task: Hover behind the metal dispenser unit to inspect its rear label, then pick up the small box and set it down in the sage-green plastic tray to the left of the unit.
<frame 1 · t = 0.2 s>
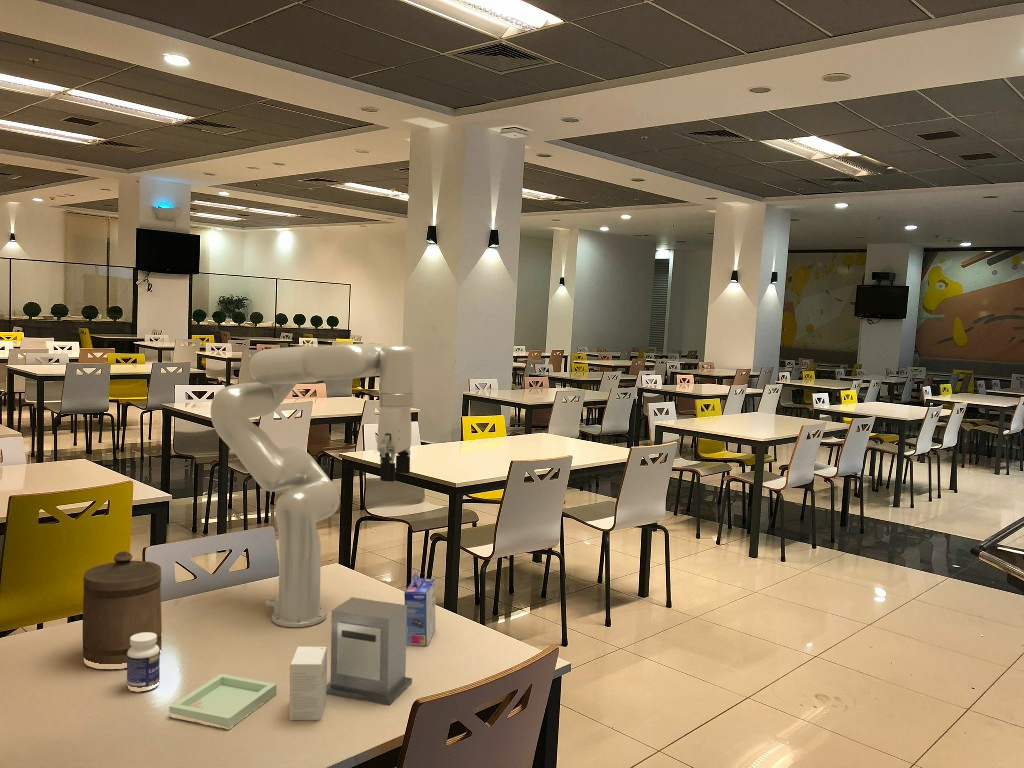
hand: (395, 476, 185), 36 cm above the table, tool pointing down, fingers open, 9 cm apart
wooden container: (122, 656, 172), on the table
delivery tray: (224, 705, 151), on the table
pill bottle: (143, 687, 158), on the table
ink cartridge box: (419, 638, 187), on the table
dispenser unit: (368, 687, 160), on the table
small box: (308, 711, 151), on the table
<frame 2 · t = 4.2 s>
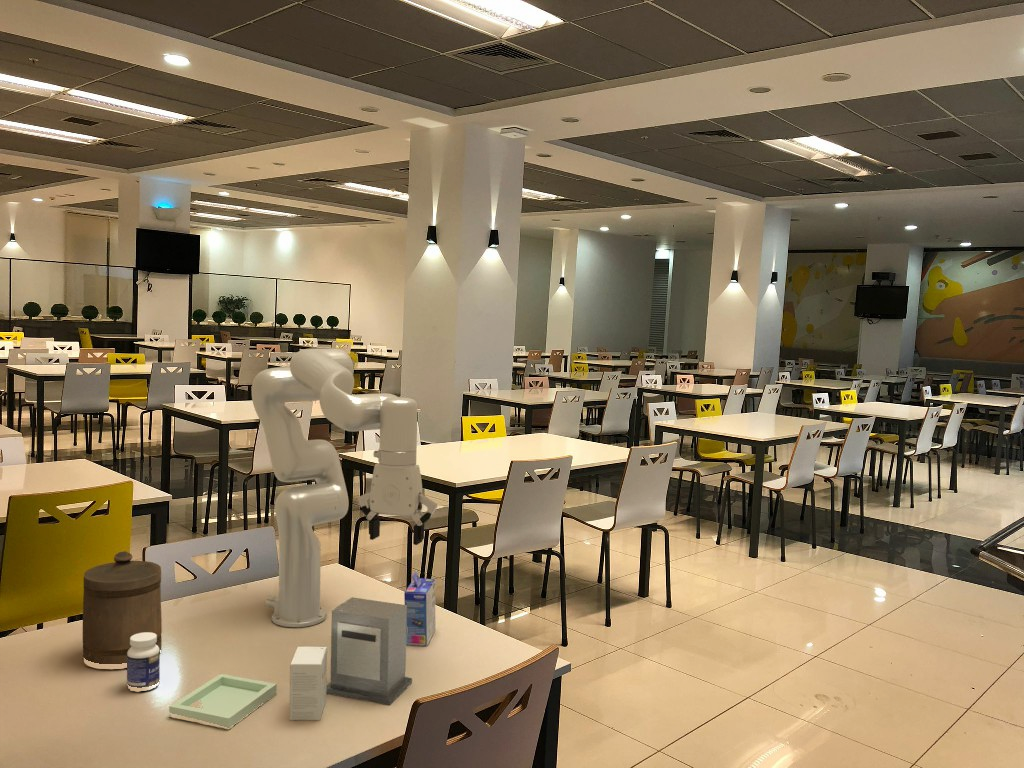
hand: (396, 540, 169), 26 cm above the table, tool pointing down, fingers open, 9 cm apart
nothing on the table moved.
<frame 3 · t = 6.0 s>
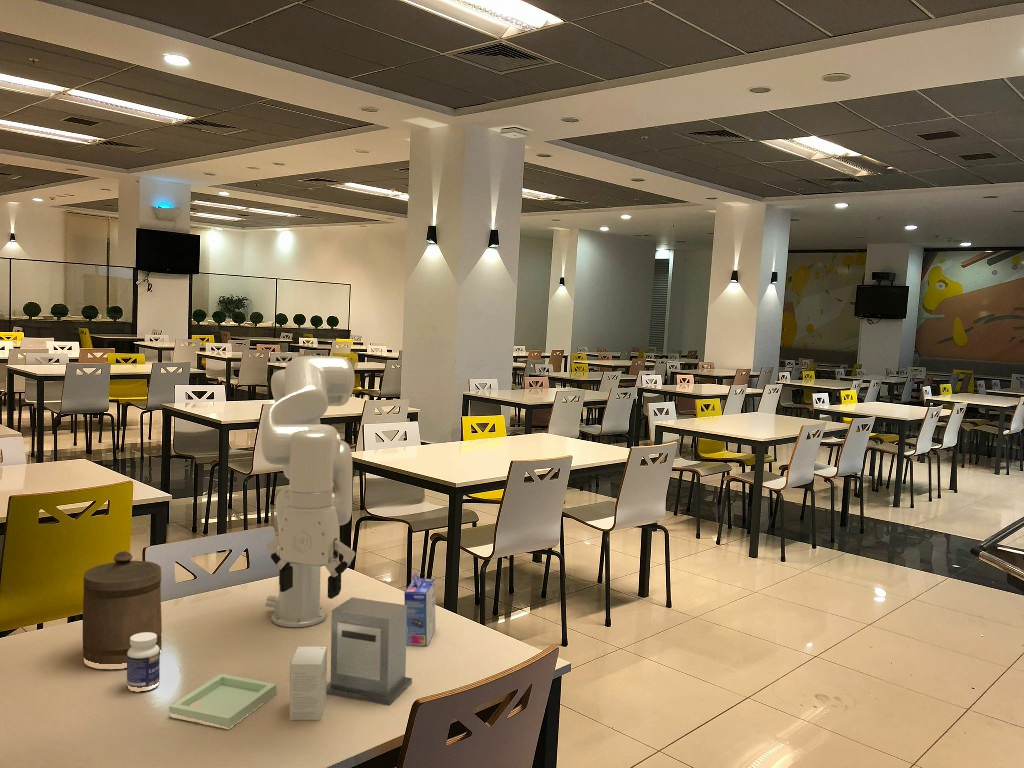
hand: (309, 593, 149), 22 cm above the table, tool pointing down, fingers open, 9 cm apart
nothing on the table moved.
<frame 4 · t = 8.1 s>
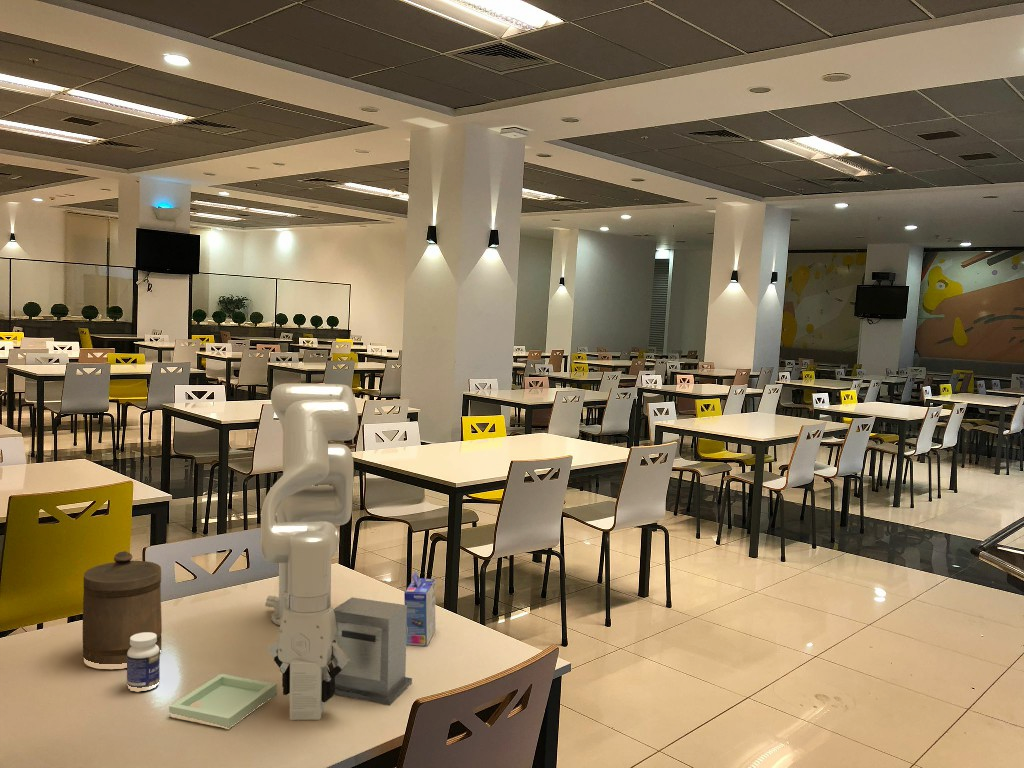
hand: (308, 694, 151), 3 cm above the table, tool pointing down, fingers closed on small box, 7 cm apart
small box: (308, 711, 151), on the table, touching gripper
everything else where it was.
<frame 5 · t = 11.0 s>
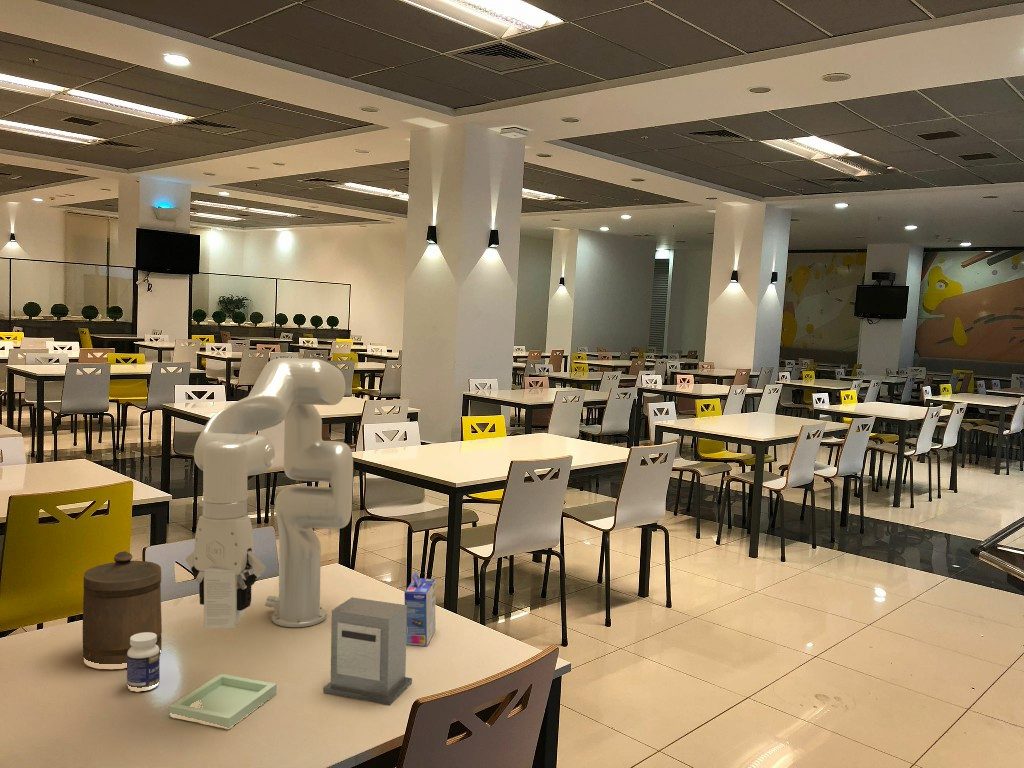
hand: (225, 604, 150), 19 cm above the table, tool pointing down, fingers closed on small box, 7 cm apart
small box: (225, 621, 150), point 16 cm above the table, touching gripper
everything else where it was.
when the fingers open (5 cm above the table, at t = 14.0 s): small box drops 2 cm, resting on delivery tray.
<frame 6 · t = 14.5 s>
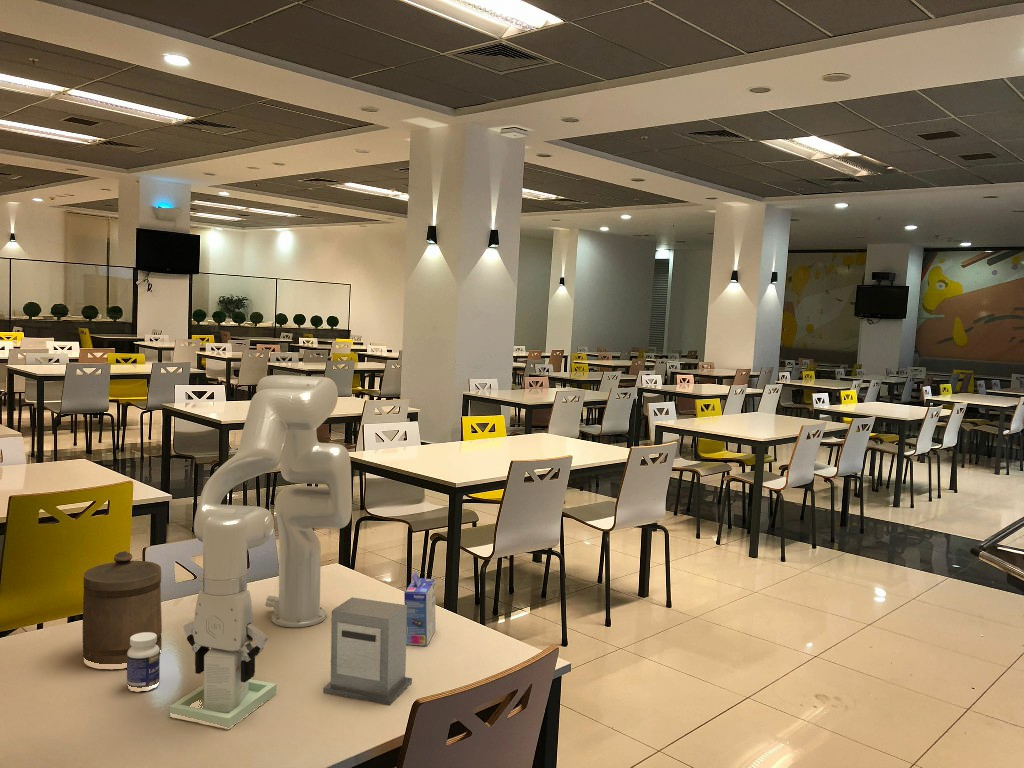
hand: (224, 675, 151), 6 cm above the table, tool pointing down, fingers open, 9 cm apart
small box: (226, 703, 152), resting on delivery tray
everything else where it was.
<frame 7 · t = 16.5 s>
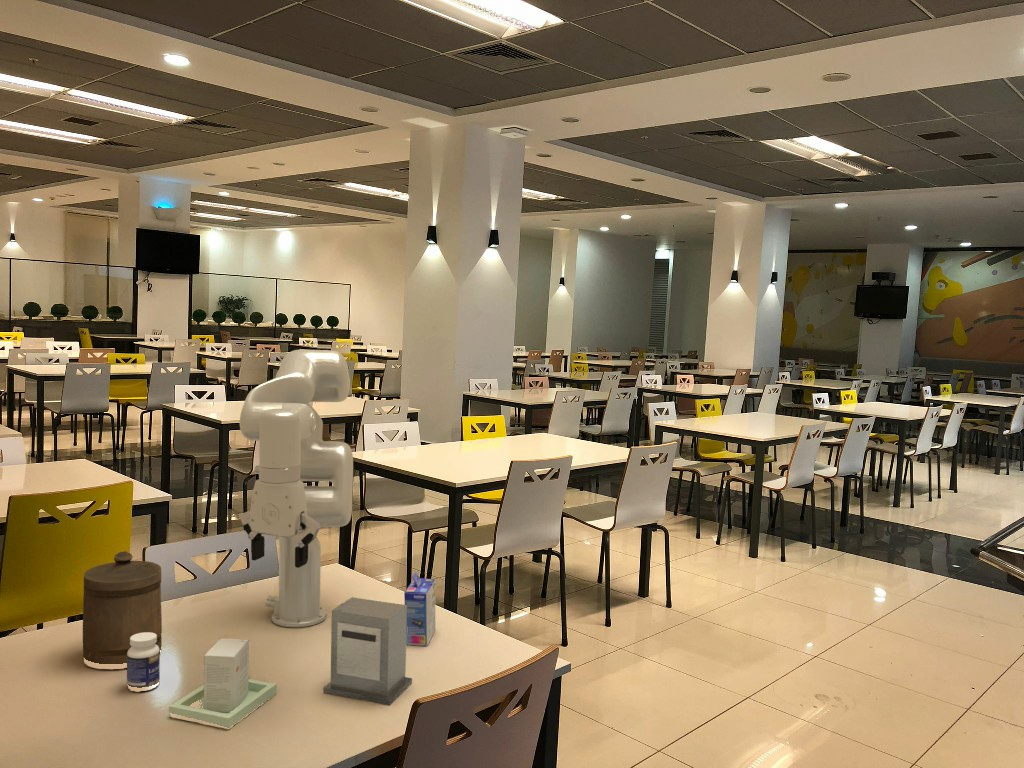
hand: (279, 562, 158), 25 cm above the table, tool pointing down, fingers open, 9 cm apart
nothing on the table moved.
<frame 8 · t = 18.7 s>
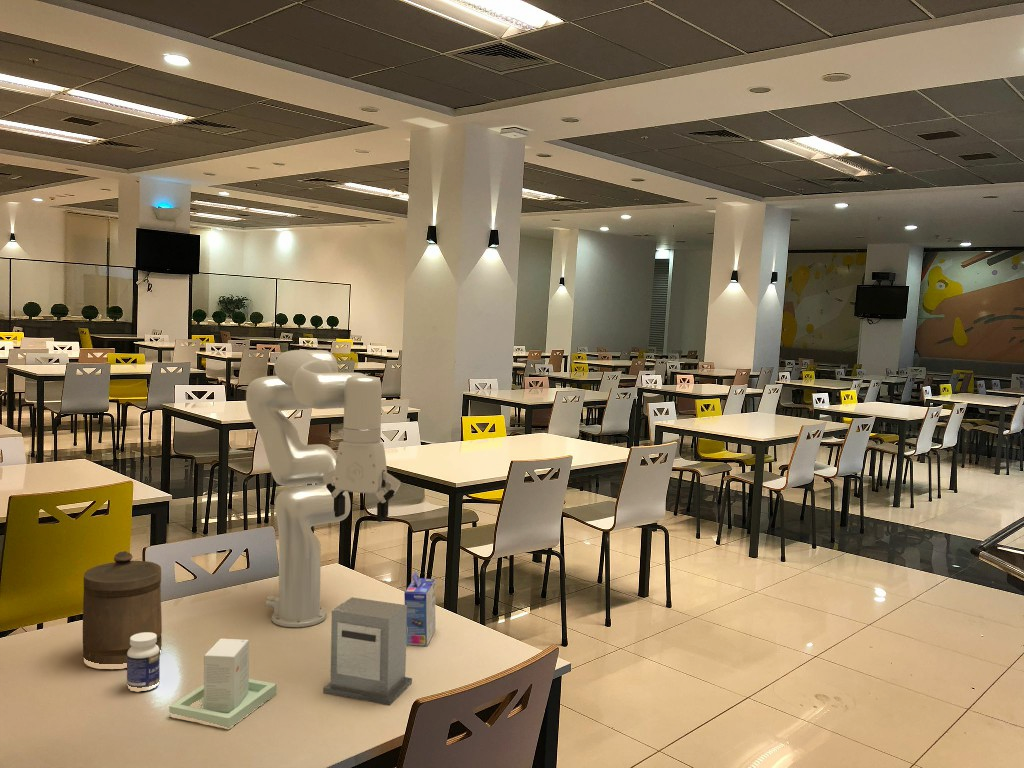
hand: (360, 518, 171), 30 cm above the table, tool pointing down, fingers open, 9 cm apart
nothing on the table moved.
at the end: small box inside the target area on the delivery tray (0.4 cm from its centre), point 0.4 cm above the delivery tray's base; small box tilted 0°; the gripper is holding nothing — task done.
